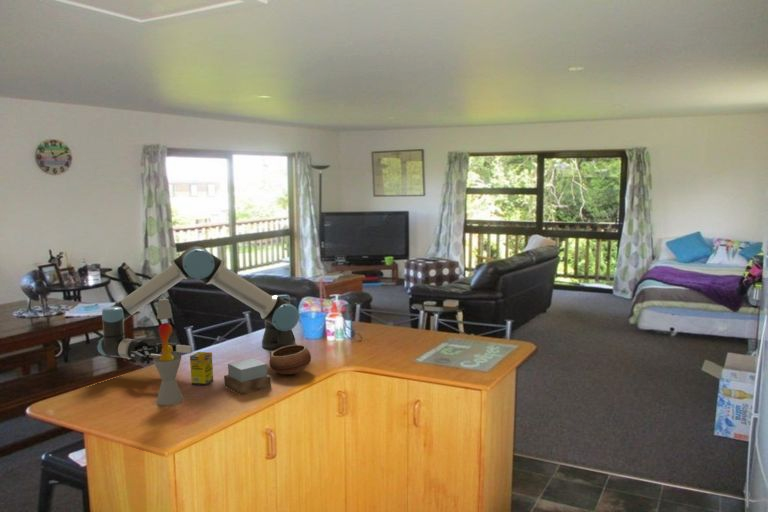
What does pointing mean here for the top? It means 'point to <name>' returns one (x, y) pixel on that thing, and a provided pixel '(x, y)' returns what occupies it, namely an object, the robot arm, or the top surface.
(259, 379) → the tower base slab
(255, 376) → the tower top block
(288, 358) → the bowl
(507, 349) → the top surface
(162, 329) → the lava lamp
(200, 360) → the supplement box
